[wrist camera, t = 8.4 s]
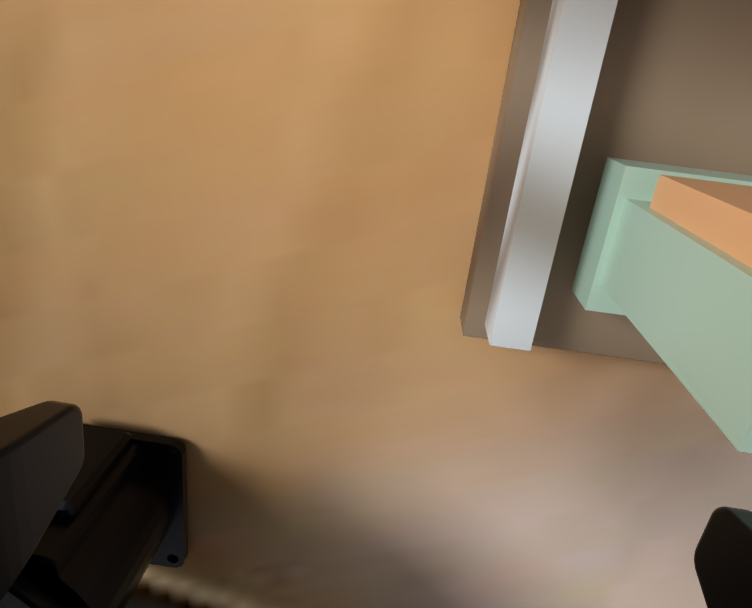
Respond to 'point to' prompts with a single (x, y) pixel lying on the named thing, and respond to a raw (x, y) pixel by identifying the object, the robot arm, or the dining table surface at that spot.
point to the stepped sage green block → (679, 276)
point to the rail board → (597, 150)
